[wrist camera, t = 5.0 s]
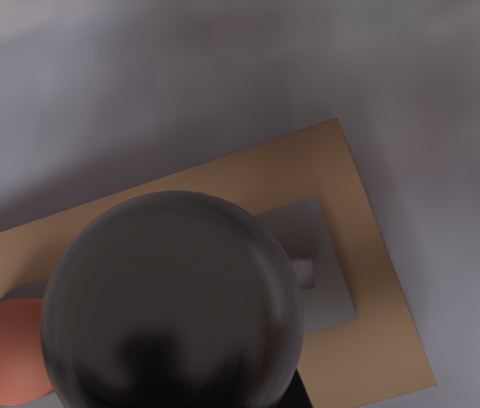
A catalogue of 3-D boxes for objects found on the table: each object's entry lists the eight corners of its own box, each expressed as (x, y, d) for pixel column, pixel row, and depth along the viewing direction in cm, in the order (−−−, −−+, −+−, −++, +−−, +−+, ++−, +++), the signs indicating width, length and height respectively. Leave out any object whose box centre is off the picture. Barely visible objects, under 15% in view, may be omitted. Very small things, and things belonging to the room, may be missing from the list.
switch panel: (419, 372, 16) (453, 397, 12) (-165, 532, 19) (-304, 599, 15) (335, 141, 18) (339, 95, 14) (-178, 313, 21) (-303, 316, 17)
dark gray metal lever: (317, 317, 14) (312, 532, 3) (226, 320, 14) (-29, 519, 4) (309, 224, 14) (285, 156, 4) (221, 230, 15) (-28, 184, 4)
